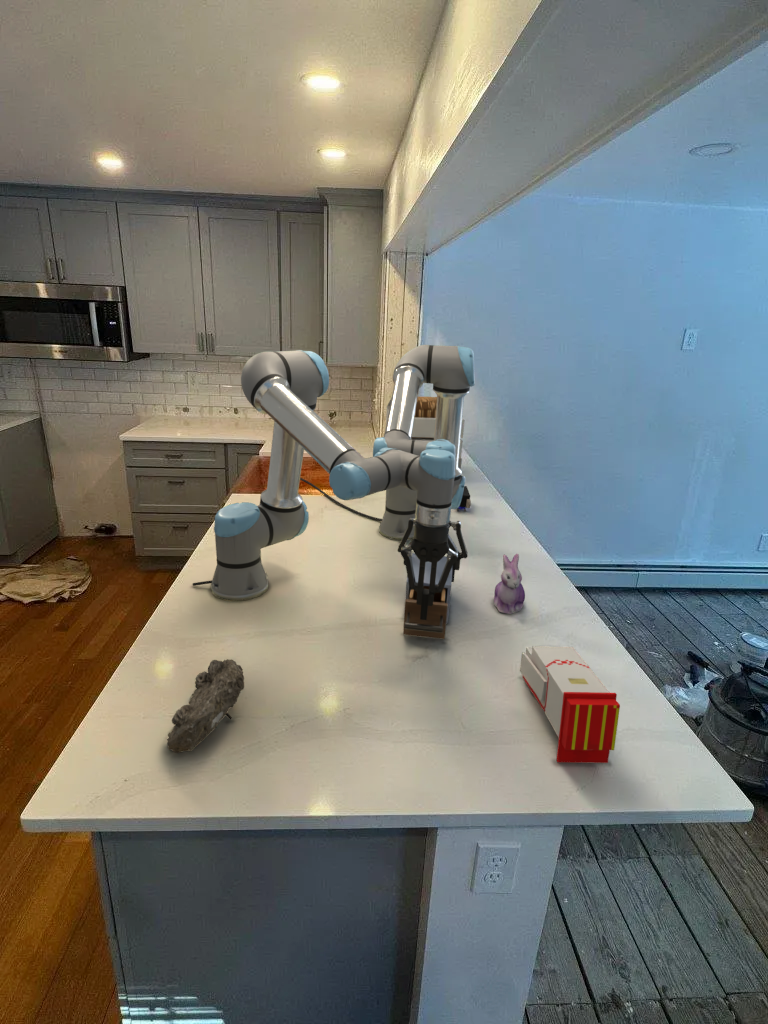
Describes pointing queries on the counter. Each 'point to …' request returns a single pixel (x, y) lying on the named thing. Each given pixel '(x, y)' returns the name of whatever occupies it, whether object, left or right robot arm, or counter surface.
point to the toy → (572, 703)
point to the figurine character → (465, 500)
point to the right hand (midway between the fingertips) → (430, 577)
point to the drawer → (435, 616)
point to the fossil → (206, 705)
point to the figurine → (509, 587)
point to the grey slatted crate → (427, 422)
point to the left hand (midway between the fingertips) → (423, 616)
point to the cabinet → (427, 578)
